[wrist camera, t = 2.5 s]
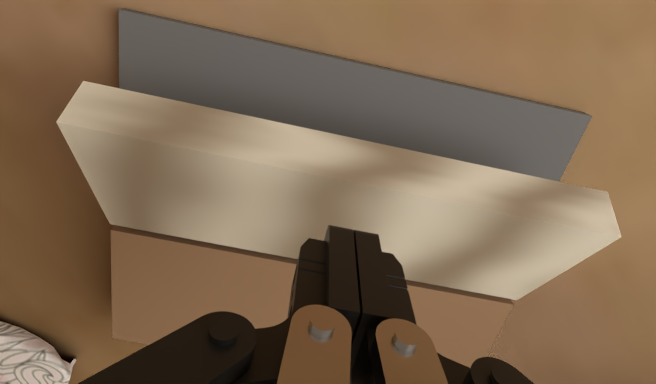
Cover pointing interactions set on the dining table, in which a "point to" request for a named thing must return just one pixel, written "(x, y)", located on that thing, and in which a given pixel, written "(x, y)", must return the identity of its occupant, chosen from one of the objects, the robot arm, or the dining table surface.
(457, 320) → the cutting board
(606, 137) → the dining table surface
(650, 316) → the dining table surface
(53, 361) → the cookie jar
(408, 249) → the plank
